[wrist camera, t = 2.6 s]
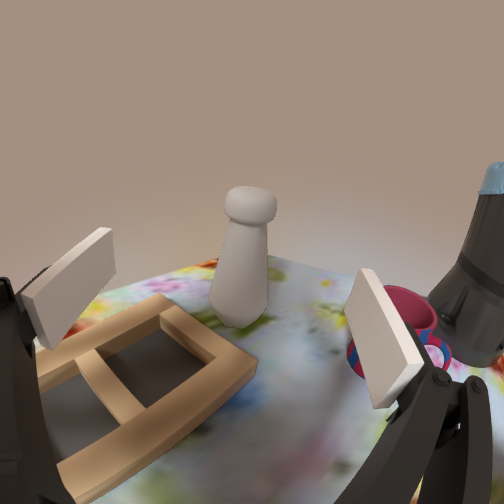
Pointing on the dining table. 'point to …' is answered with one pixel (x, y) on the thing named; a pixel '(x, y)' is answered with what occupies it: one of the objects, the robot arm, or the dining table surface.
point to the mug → (416, 315)
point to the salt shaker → (243, 258)
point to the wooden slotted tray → (132, 392)
